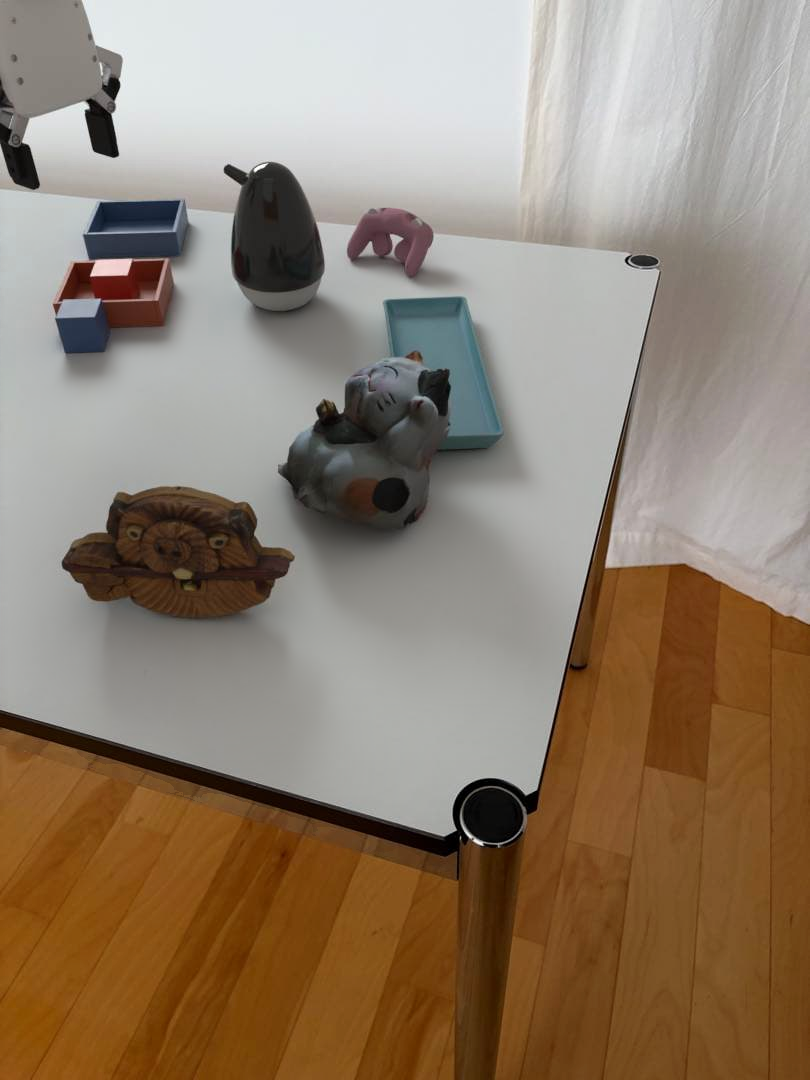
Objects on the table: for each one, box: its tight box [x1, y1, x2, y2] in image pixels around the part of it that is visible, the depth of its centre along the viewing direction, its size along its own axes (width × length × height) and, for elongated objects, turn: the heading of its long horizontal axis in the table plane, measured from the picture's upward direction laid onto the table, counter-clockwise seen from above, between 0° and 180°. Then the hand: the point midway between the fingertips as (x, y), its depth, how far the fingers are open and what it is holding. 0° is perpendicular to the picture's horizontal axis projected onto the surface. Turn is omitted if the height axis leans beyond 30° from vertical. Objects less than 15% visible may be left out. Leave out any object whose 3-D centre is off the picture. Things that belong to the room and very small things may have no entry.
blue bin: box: [82, 198, 189, 259], centre depth 112 cm, size 11×10×3 cm
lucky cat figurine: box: [277, 350, 451, 530], centre depth 73 cm, size 15×12×14 cm
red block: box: [90, 258, 140, 300], centre depth 99 cm, size 4×4×4 cm
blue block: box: [54, 299, 111, 354], centre depth 93 cm, size 4×4×4 cm
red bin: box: [52, 258, 174, 328], centre depth 99 cm, size 11×10×3 cm
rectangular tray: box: [382, 295, 505, 451], centre depth 89 cm, size 26×9×2 cm, turn 5°
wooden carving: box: [61, 485, 296, 619], centre depth 64 cm, size 16×5×10 cm, turn 90°
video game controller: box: [346, 207, 435, 277], centre depth 107 cm, size 10×5×7 cm, turn 58°
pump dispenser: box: [223, 161, 326, 312], centre depth 96 cm, size 10×10×15 cm
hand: (68, 169), depth 87 cm, fingers open, 9 cm apart
